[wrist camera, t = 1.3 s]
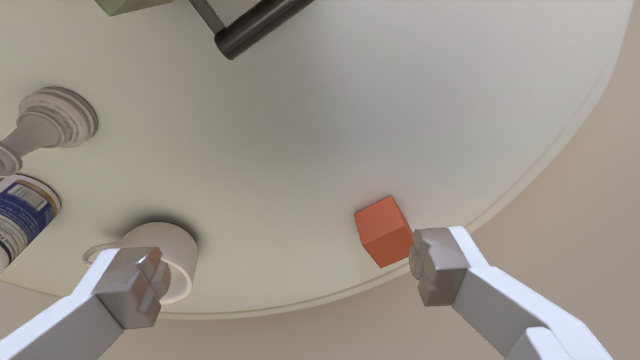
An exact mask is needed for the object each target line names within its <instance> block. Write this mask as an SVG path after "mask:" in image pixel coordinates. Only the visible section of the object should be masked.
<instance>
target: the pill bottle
mask: <svg viewBox="0 0 640 360" xmlns="http://www.w3.org/2000/svg"><path fill="white" fill-rule="evenodd" d="M59 210H60V203H59V200H58V198H57V196H56V195H55V194H54V192H53V191H52V190H51V189H50V188H48V187H47V186H46V185H44V184H43V183H41V182H39V181H37V180H34V179H32V178H29V177H25V176H21V175H11V176H0V273H1V272H2V271H3V270H4V269H6V268H7V267H8V266H9V265H10V263H11V262H12V261H13V260H14V259H15V258H16V257H17V256H18V255H19V254H20V253H21V252H22V251H23V250H24V249H25V248H26V247H27V246H28V245H29V244H30V243H31V242H32V241H33V240H34V239H35V238H36V237H37V236H38V234H39V233H40V232H41V231H42V230H43V229H44V228H45V227H46V226H47V225H48V224H49V223H50V222H51V221H52V220H53V219H54V218H55V216H56V215H57V214H58V213H59Z"/></svg>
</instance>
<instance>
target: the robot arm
mask: <svg viewBox="0 0 640 360" xmlns="http://www.w3.org/2000/svg"><path fill="white" fill-rule="evenodd" d="M412 239H413V242H414V244H413V245H412V246H411V247H410V248H409V254H408V255H409V265H410V269H411V272H412V275H413V276H414V277H415V278H416V279H418V280H419V284H418V287H417V288H418V290H419V293H420V296H421V298H422V301H423V303H424V306H425V307H427V306H449V305H452V308H453V309H454V310H455V311H456V312H458V313H459V314H460V315H461V316H462V317H463V318H464V319H465V320H466V321H467V322H468V323H469V324H470V325H471V326H472V327H473V328H474V329H475V330H476V331H477V332H478V333H480V335H482V336H483V337H484V338H485V339H486V340H487V341H488V342H489V343H490V344H491V345H492V346H493V347H494V348H495V349H496V350H497V351H498V352H499V353H500V354H501V355H502V356H503V357H504V358H505V359H504V360H613V358H612V357H611V356H610V355H609V354H608V352H607V351H606V350H605V349H604V347H603V346H602V345H601V344H600V342H599V341H598V340H597V339H596V338H595V336H594V335H593V334H592V333H591V331H590V330H589V329H588V328H587V326H586V325H585V324H584V323H583V322H582V321H580V320H579V319H577V318H576V317H574V316H572V315H571V314H569V313H568V312H566V311H564V310H563V309H561V308H560V307H558V306H557V305H555V304H554V303H552V302H550V301H549V300H547V299H546V298H544V297H542V296H541V295H539V294H538V293H536V292H535V291H533V290H531V289H530V288H528V287H527V286H525V285H524V284H522V283H520V282H519V281H517V280H516V279H514V278H513V277H511V276H509V275H508V274H506V273H505V272H503V271H502V270H500V269H498V268H497V267H494V266H493V267H490V265H489V264H488V263H487V261H486V259H485V258H484V257H483V255H482V253H481V252H480V250H479V249H478V248H477V246H476V245H475V243H474V242H473V240H472V238H471V237H470V235H469V234H468V232H467V231H466V229H465V228H464V227H462V226H456V227H446V228H445V227H441V228H428V229H415V231H414V232H413V235H412ZM162 255H163V254H162V252H161V250H160V248H159V247H133V248H115V249H105V250H104V251H102V252H101V253H100V254H99V255H98V257H97V258H96V260H95V261H94V263H93V264H92V265H91V267H90V268H89V270H88V271H87V272H86V274H85V275H84V277H83V278H82V280H81V281H80V282H79V284H78V285H77V287H76V288H75V289H74V291H73V292H72V294H71V295H70V296H64V297H63V298H61V299H60V300H59V301H57V302H56V303H54V304H53V305H51V306H50V307H48V308H47V309H46V310H44V311H43V312H41V313H40V314H38V315H37V316H35V317H34V318H33V319H31V320H30V321H29V322H27V323H25V324H24V325H23V326H21V327H20V328H18V329H17V330H15V331H14V332H12V333H11V334H9V335H8V336H7V337H5V338H4V339H2V340H1V341H0V360H97V359H98V358H99V357H100V356H101V355H102V354H103V353H104V352H105V351H106V350H107V349H108V348H109V347H110V346H111V344H113V343H114V342H115V340H116V339H117V338H118V337H119V336H120V335H121V334H122V333H123V332H124V330H126V329H137V328H146V327H153V325H154V323H155V321H156V318H157V316H158V313H159V311H160V309H161V303H160V301H159V300H160V299H161V298H162V297H163V296H164V295H165V294H166V293H167V291H168V289H169V286H170V281H171V272H170V268H169V266H168V263H166V262H164V261H163V260H161V257H162Z"/></svg>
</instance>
